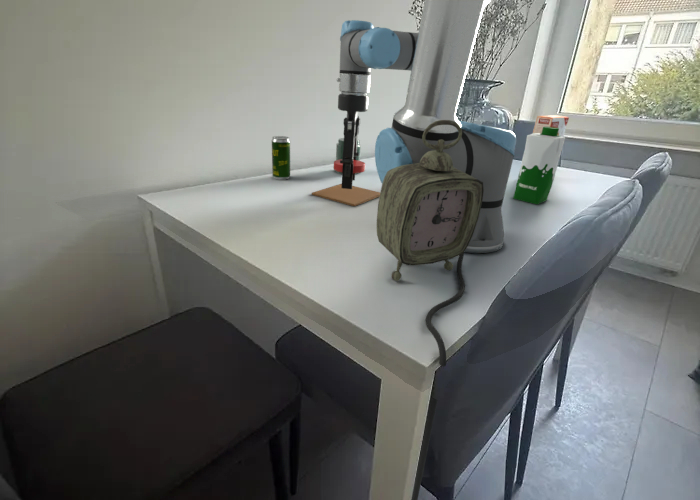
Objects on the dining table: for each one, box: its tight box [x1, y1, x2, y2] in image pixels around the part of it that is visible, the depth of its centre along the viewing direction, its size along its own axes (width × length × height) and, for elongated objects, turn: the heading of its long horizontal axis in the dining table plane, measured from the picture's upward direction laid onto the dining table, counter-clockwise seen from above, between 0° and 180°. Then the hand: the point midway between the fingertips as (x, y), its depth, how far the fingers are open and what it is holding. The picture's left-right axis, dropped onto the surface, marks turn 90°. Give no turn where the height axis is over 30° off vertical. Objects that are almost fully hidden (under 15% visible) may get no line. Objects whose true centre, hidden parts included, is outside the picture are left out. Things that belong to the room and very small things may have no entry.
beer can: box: [271, 135, 291, 181], centre depth 117 cm, size 5×5×12 cm
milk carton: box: [512, 127, 566, 205], centre depth 109 cm, size 9×9×20 cm
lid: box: [333, 159, 366, 174], centre depth 103 cm, size 8×8×2 cm
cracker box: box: [532, 114, 570, 137], centre depth 137 cm, size 14×6×21 cm, turn 132°
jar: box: [334, 137, 362, 175], centre depth 129 cm, size 8×8×10 cm
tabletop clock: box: [376, 120, 484, 282], centre depth 62 cm, size 14×9×25 cm, turn 115°
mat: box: [311, 183, 381, 207], centre depth 106 cm, size 14×14×1 cm
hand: (348, 183), depth 105 cm, fingers closed on lid, 8 cm apart
